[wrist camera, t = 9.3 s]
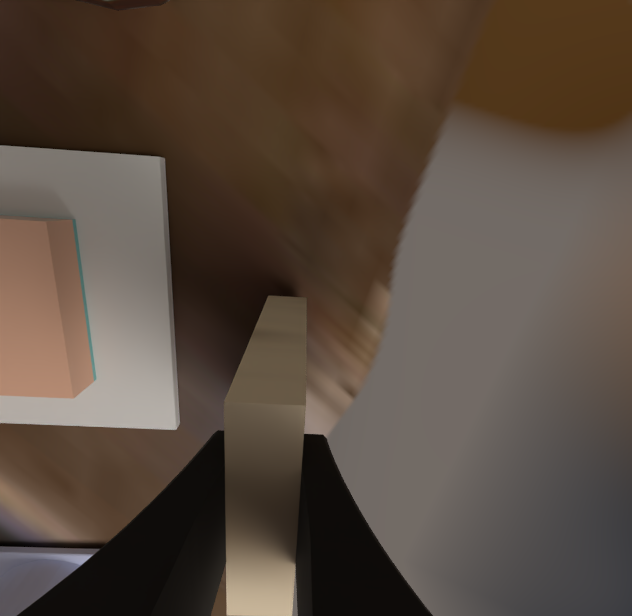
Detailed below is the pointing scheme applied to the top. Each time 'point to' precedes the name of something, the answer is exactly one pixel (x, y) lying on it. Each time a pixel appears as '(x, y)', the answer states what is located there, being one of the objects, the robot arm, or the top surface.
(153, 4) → the food container
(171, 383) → the mat
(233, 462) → the beige upright block
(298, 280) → the top surface
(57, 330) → the tile
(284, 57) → the top surface
